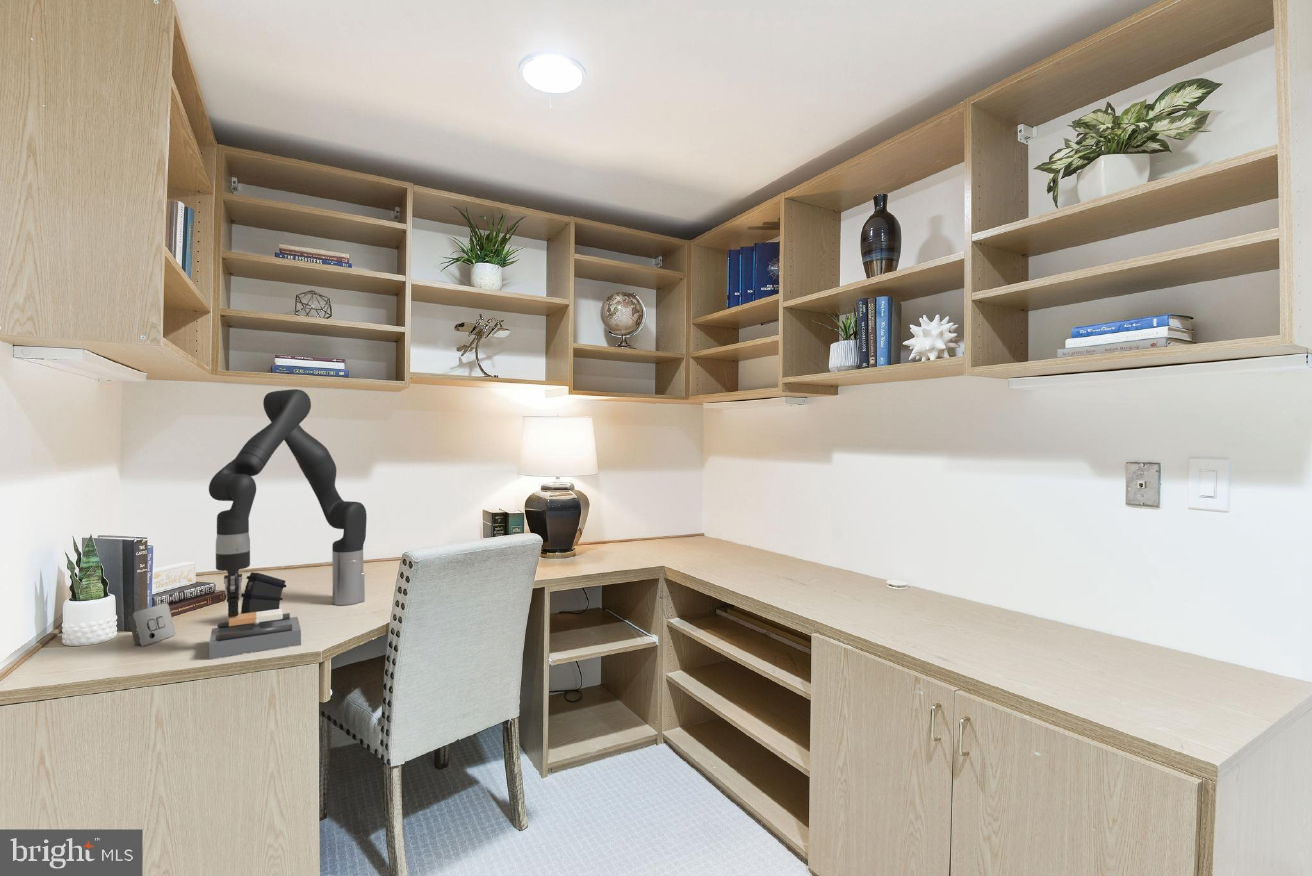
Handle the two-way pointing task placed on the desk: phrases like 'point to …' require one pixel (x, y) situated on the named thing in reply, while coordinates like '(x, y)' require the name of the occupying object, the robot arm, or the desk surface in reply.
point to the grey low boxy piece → (254, 636)
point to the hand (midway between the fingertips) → (233, 616)
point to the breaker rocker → (256, 617)
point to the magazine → (262, 593)
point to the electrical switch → (152, 624)
